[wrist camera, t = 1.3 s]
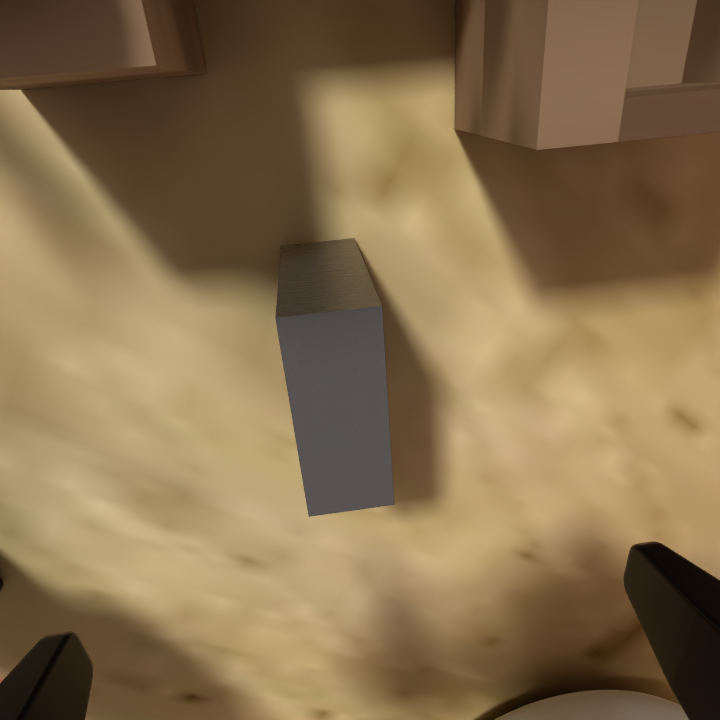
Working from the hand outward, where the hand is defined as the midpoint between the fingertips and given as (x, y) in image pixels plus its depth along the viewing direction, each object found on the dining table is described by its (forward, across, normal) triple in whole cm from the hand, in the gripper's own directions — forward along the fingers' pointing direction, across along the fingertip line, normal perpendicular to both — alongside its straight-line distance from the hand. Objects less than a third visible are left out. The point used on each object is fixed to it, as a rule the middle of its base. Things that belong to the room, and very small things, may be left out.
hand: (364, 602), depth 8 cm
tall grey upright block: (+11, 0, 0) cm, 11 cm away
